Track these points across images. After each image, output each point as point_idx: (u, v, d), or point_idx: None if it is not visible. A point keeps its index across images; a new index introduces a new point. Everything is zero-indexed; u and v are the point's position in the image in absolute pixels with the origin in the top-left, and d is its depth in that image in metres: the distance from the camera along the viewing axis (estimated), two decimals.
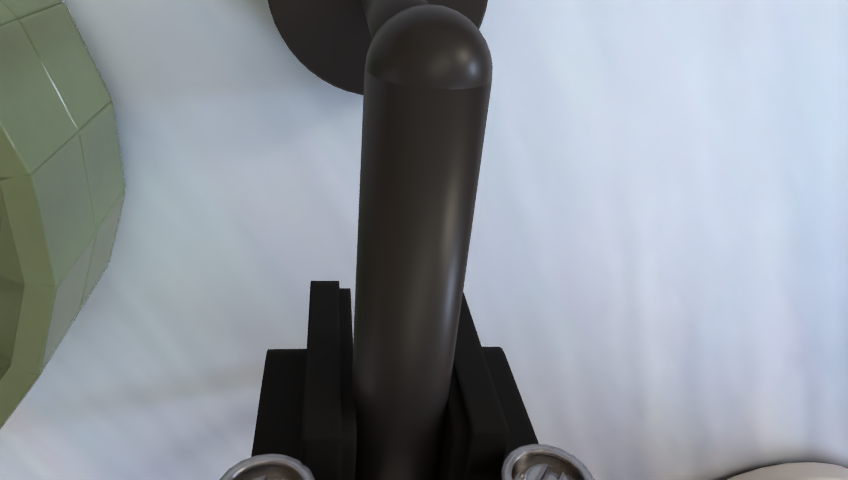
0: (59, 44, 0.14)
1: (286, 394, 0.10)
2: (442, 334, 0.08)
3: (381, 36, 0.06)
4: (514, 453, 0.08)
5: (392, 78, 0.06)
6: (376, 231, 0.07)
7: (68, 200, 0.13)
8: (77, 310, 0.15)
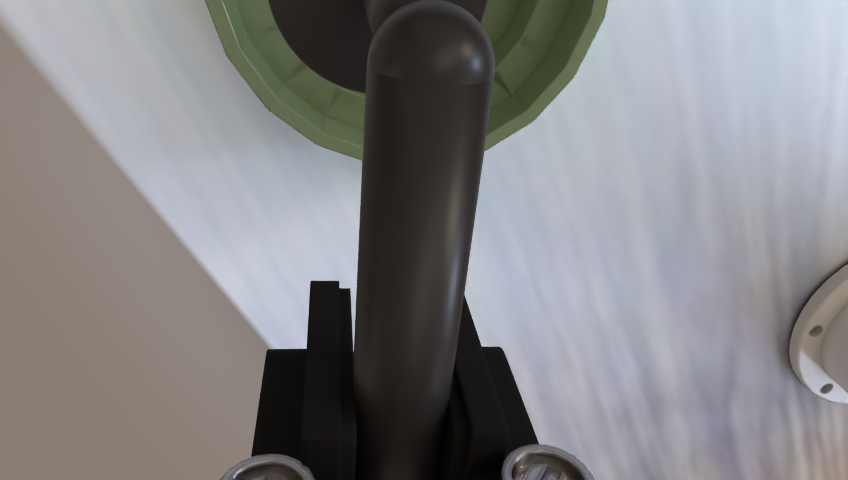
0: None
1: (286, 394, 0.10)
2: (444, 332, 0.08)
3: (383, 31, 0.06)
4: (514, 453, 0.08)
5: (394, 73, 0.06)
6: (378, 228, 0.07)
7: None
8: None
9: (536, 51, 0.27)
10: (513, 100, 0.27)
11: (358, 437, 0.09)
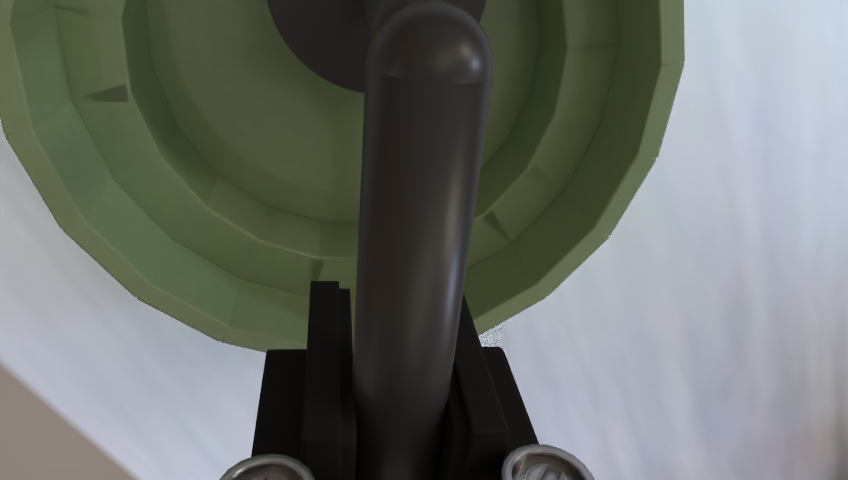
0: None
1: (286, 394, 0.10)
2: (443, 332, 0.08)
3: (382, 31, 0.06)
4: (514, 453, 0.08)
5: (393, 73, 0.06)
6: (377, 227, 0.07)
7: None
8: None
9: (549, 184, 0.19)
10: (515, 254, 0.19)
11: (357, 436, 0.09)
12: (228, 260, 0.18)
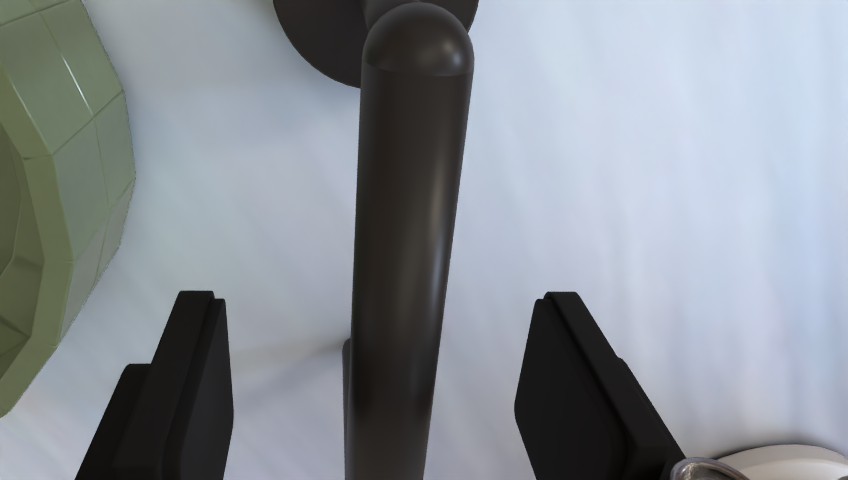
0: (76, 35, 0.14)
1: None
2: (431, 298, 0.09)
3: (376, 30, 0.07)
4: (677, 466, 0.08)
5: (385, 66, 0.07)
6: (372, 203, 0.08)
7: (84, 181, 0.14)
8: (91, 288, 0.16)
9: None
10: (14, 355, 0.16)
11: (355, 396, 0.10)
12: None
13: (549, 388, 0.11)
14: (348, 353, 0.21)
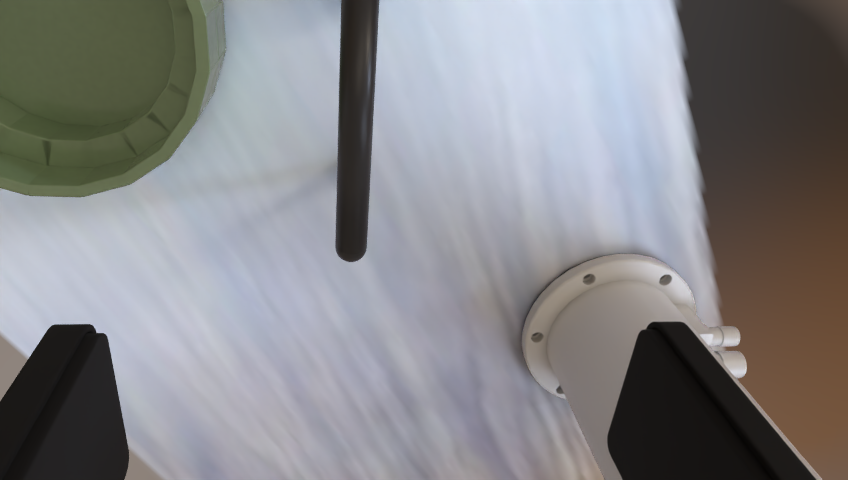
0: None
1: None
2: (369, 49, 0.24)
3: None
4: None
5: None
6: (346, 8, 0.23)
7: (212, 36, 0.29)
8: (206, 102, 0.31)
9: (184, 95, 0.31)
10: (166, 138, 0.31)
11: (341, 97, 0.25)
12: None
13: (662, 426, 0.10)
14: None
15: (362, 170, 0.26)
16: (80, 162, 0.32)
